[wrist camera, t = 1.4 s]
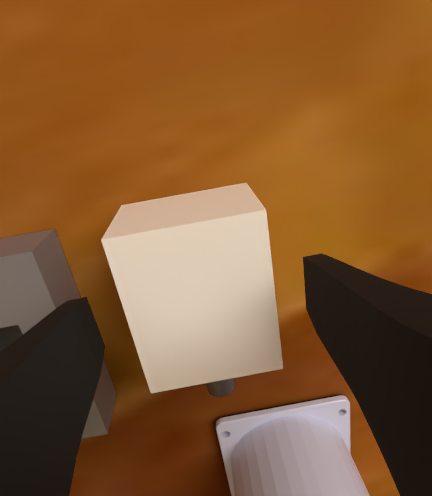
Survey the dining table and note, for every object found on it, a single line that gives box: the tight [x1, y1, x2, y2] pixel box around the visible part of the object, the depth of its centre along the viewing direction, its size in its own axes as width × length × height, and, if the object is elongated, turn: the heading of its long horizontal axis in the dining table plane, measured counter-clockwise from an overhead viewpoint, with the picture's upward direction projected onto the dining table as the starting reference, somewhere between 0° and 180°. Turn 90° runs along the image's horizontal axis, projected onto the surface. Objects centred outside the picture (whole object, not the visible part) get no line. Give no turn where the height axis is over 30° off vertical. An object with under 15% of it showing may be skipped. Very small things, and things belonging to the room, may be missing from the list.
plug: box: [101, 183, 283, 397], centre depth 14 cm, size 8×5×6 cm, turn 9°
